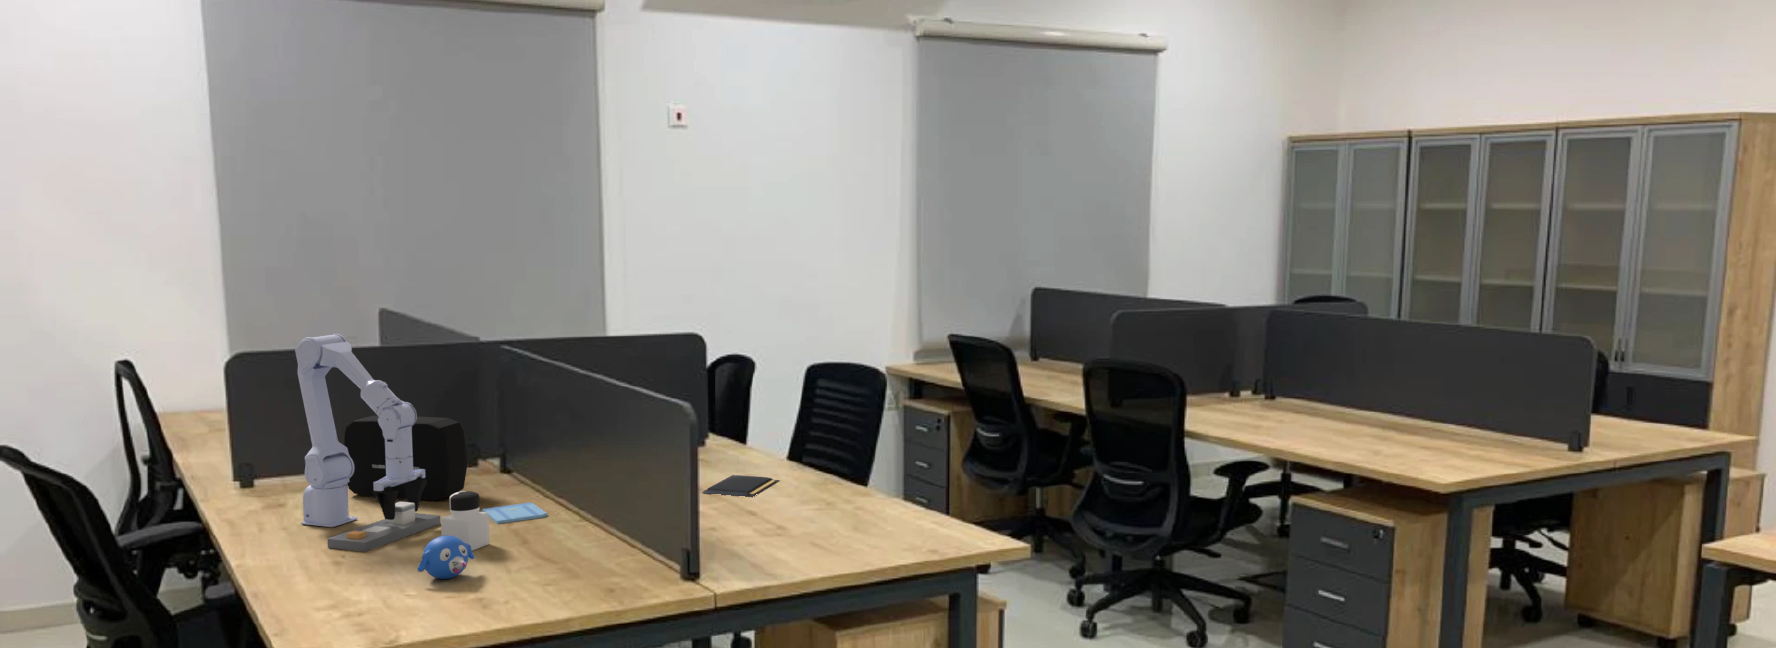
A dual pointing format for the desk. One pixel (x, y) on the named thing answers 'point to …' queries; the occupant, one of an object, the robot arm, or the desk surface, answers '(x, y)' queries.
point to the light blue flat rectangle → (515, 513)
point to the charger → (403, 513)
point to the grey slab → (381, 533)
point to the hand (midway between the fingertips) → (401, 515)
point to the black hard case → (432, 448)
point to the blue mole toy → (445, 557)
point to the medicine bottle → (466, 520)
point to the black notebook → (741, 486)
